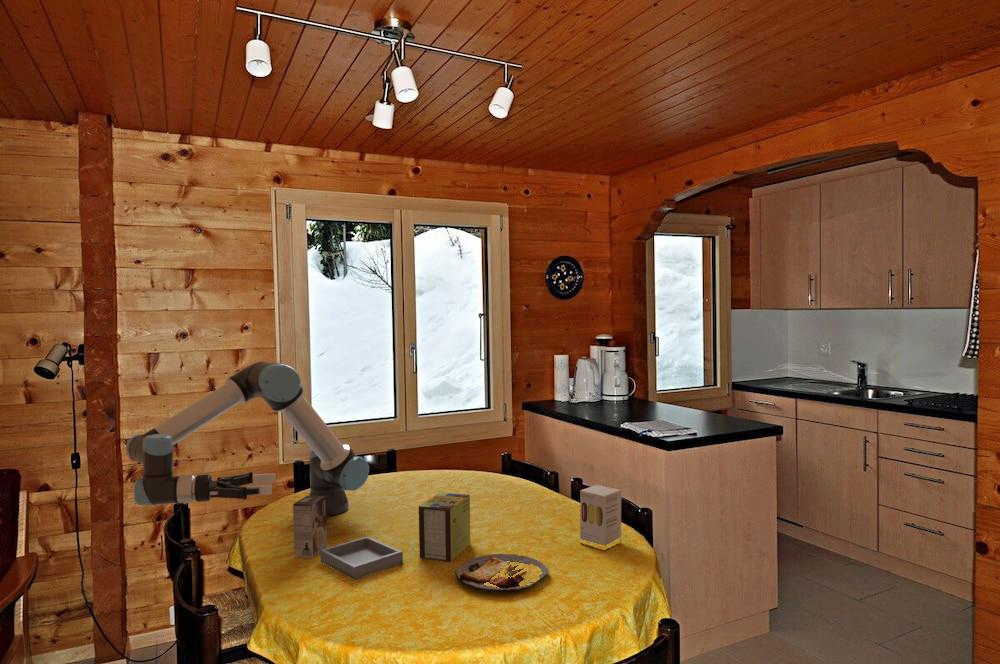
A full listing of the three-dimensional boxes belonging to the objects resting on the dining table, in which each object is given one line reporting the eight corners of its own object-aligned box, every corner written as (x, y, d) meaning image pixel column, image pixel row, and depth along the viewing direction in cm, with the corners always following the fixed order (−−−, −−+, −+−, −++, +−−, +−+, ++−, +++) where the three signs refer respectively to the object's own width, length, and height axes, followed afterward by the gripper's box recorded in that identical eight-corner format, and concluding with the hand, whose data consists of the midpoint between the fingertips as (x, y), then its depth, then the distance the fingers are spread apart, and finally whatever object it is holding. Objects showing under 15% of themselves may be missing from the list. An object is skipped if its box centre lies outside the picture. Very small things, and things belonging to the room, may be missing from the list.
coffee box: (308, 546, 205) (307, 494, 204) (328, 547, 204) (327, 495, 203) (293, 557, 196) (292, 503, 195) (313, 558, 195) (312, 504, 194)
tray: (367, 547, 203) (367, 536, 203) (402, 563, 190) (402, 551, 190) (320, 562, 192) (320, 550, 192) (354, 580, 179) (354, 567, 179)
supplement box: (579, 544, 204) (578, 490, 204) (596, 536, 211) (596, 483, 210) (605, 551, 198) (605, 495, 197) (622, 543, 205) (622, 489, 204)
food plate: (514, 604, 163) (514, 590, 163) (438, 585, 176) (438, 571, 176) (560, 572, 184) (560, 559, 184) (490, 557, 197) (490, 545, 197)
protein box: (471, 544, 206) (470, 494, 205) (451, 562, 191) (450, 508, 190) (440, 540, 209) (439, 491, 208) (418, 558, 194) (417, 505, 194)
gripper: (203, 490, 203) (277, 485, 208) (187, 514, 179) (270, 508, 184) (203, 465, 203) (276, 461, 208) (186, 486, 179) (269, 481, 184)
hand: (273, 483), depth 196 cm, fingers open, 13 cm apart
